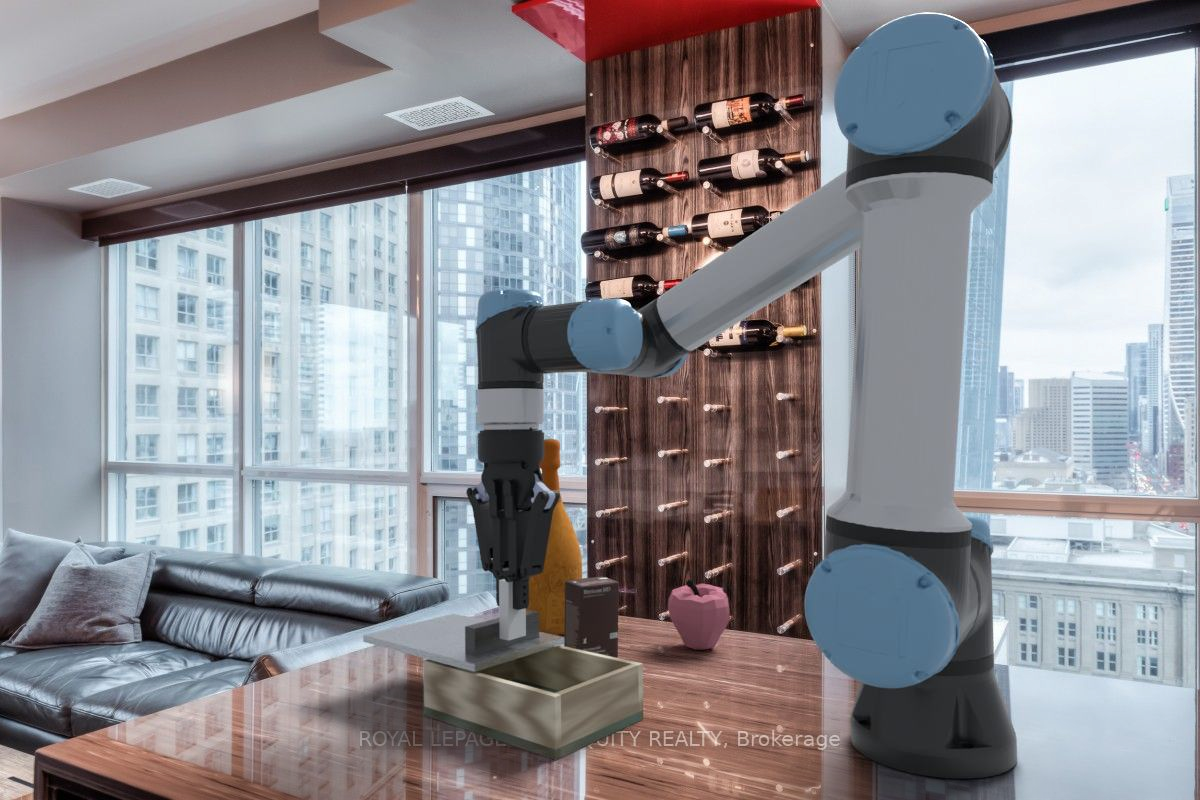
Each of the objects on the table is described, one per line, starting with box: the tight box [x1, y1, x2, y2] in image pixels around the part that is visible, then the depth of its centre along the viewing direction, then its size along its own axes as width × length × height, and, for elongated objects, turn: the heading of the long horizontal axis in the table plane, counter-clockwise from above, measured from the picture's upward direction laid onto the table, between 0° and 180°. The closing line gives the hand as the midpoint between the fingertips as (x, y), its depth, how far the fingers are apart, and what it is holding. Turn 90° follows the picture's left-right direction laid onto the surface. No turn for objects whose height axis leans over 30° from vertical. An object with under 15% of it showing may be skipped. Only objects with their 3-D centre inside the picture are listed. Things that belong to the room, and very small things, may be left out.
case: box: [423, 645, 644, 761], centre depth 91 cm, size 20×14×6 cm
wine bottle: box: [520, 438, 583, 636], centre depth 130 cm, size 10×10×30 cm
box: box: [563, 576, 620, 658], centre depth 106 cm, size 6×4×12 cm
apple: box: [667, 579, 731, 651], centre depth 118 cm, size 10×9×10 cm
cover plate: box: [362, 610, 564, 672], centre depth 98 cm, size 20×14×4 cm
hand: (512, 636), depth 93 cm, fingers closed
